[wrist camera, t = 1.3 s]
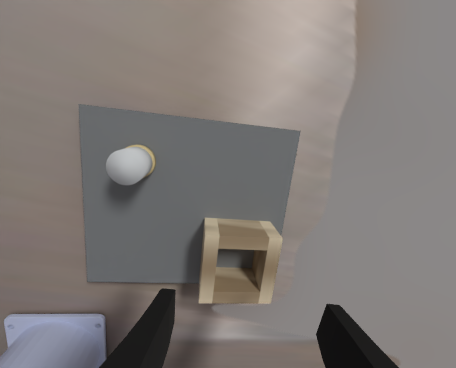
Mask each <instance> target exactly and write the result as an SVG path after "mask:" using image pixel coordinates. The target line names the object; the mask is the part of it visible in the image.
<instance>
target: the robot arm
mask: <svg viewBox="0 0 456 368" xmlns="http://www.w3.org/2000/svg"><path fill="white" fill-rule="evenodd" d="M174 317H175V290H173V289H163V288H162V289H161V290H160V291H159V293H158V294H157V296H156V297H155V299H154V300H153V302H152V303H151V304H150V306H149V307H148V309H147V310H146V311H145V313H144V314H143V315H142V317H141V318H140V319H139V321H138V322H137V323H136V324H135V326H134V327H133V328H132V330H131V331H130V332H129V333H128V335H127V336H126V337H125V338H124V339H123V341H122V342H121V343H120V344H119V345H118V346H117V348H116V349H115V350H114V351H113V352H112V353H111V355H110V356H109V357H108V358H107V359H106V326H105V316H104V315H102V314H10V315H8V316H7V317H6V318H5V320H4V325H5V331H6V337H7V343H8V349H7V350H6V351H5V352H4V353H3V354H2V356H1V357H0V368H162V366H163V363H164V360H165V357H166V354H167V351H168V347H169V343H170V339H171V334H172V330H173V325H174ZM99 324H100V325H99ZM316 336H317V340H318V344H319V348H320V351H321V355H322V359H323V362H324V365H325V367H326V368H399V367H398V366H397V365H396V364H395V363H394V362H393V361H392V360H391V359H390V358H389V357H388V356H387V355H386V354H385V353H384V352H383V351H382V350H381V349H380V348H379V347H378V346H377V345H376V344H375V343H374V342H373V341H372V340H371V338H370V337H369V336H368V335H367V334H366V333H365V332H364V331H363V330H362V329H361V328H360V327H359V325H358V324H357V323H356V322H355V321H354V320H353V319H352V318H351V317H350V316H349V315H348V314H347V313H346V312H345V310H344V309H343V308H342V307H341V306H340V305H333V304H327V305H326V308H325V310H324V313H323V316H322V319H321V322H320V325H319V328H318V331H317V333H316Z"/></svg>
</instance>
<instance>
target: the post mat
mask: <svg viewBox="0 0 456 368" xmlns="http://www.w3.org/2000/svg"><path fill="white" fill-rule="evenodd" d="M79 122H80V142H81V163H82V183H83V204H84V224H85V245H86V265H87V282H141V283H199V275H200V264H201V253H202V242H203V232H204V221H205V218H220V219H237V220H254V221H270V222H271V223H272V225H273V226H274V227H275V229H276V230H277V231H278V233H279V234H280V235H281V233H282V228H283V223H284V217H285V212H286V206H287V201H288V196H289V190H290V185H291V179H292V174H293V169H294V163H295V158H296V152H297V147H298V142H299V136H300V131H296V130H287V129H279V128H271V127H263V126H254V125H246V124H238V123H230V122H222V121H213V120H205V119H197V118H189V117H180V116H172V115H164V114H156V113H147V112H139V111H131V110H123V109H115V108H106V107H98V106H90V105H82V104H79ZM253 256H254V250H242V249H218V255H217V264H216V267H229V268H252V262H253Z"/></svg>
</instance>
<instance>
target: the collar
mask: <svg viewBox="0 0 456 368" xmlns="http://www.w3.org/2000/svg"><path fill="white" fill-rule="evenodd" d="M282 241H283V238H282V237H281V235H280V234H279V233H278V231H277V230H276V229H275V227H274V226H273V225H272V223H271V222H270V221H254V220H237V219H220V218H205V221H204V232H203V242H202V253H201V264H200V275H199V303H267V304H271V299H272V294H273V289H274V283H275V278H276V273H277V267H278V262H279V257H280V251H281V246H282ZM218 249H242V250H254V256H253V262H252V268H229V267H216V264H217V255H218Z"/></svg>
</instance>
